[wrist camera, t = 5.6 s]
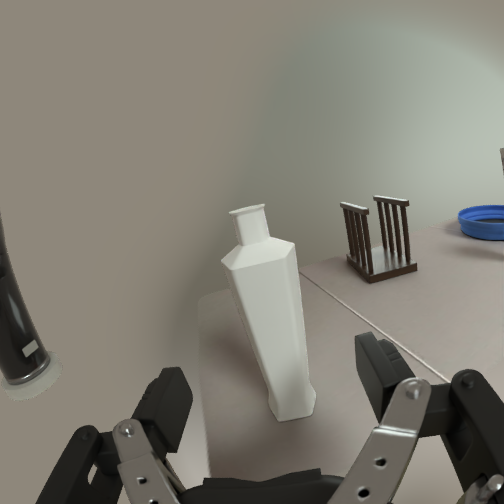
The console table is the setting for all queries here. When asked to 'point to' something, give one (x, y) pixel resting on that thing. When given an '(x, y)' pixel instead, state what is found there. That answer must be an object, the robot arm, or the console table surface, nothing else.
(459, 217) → the bowl
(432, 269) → the console table surface
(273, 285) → the perfume bottle
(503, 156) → the planter
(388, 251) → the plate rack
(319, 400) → the console table surface
